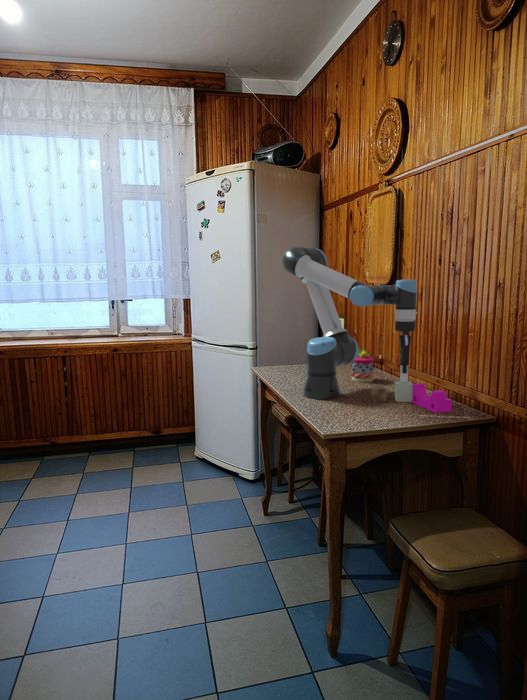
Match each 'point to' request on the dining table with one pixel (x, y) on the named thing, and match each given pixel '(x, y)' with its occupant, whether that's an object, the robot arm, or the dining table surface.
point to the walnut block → (378, 393)
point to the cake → (362, 367)
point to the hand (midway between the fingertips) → (403, 381)
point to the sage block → (403, 391)
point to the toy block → (431, 399)
